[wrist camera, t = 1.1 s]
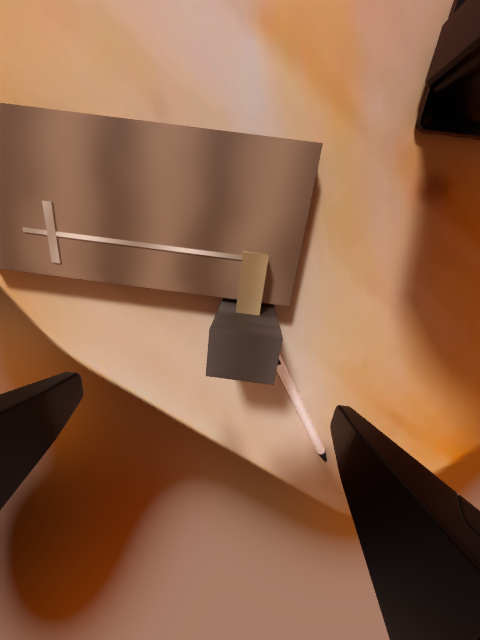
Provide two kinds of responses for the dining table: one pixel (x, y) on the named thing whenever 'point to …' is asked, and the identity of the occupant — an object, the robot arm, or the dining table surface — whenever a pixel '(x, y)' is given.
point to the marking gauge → (246, 329)
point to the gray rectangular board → (150, 202)
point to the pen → (300, 408)
